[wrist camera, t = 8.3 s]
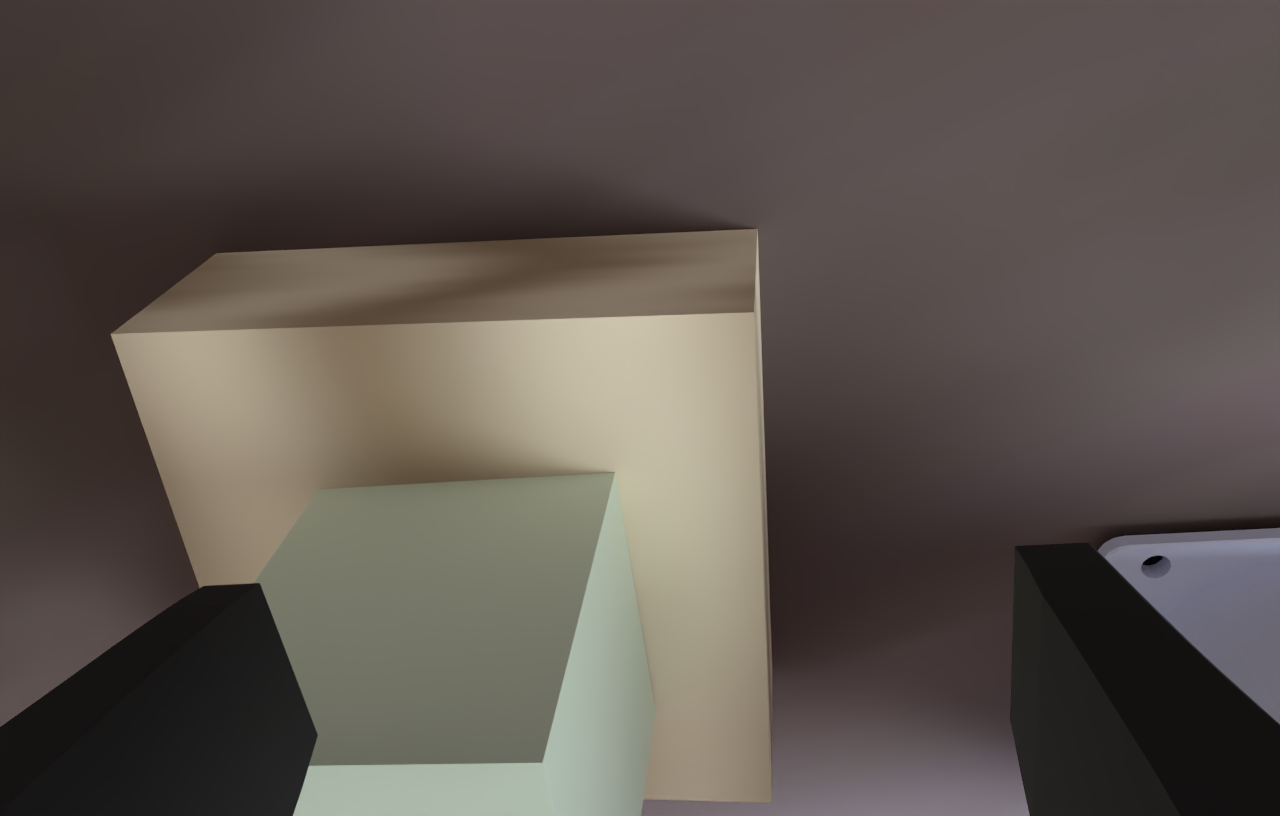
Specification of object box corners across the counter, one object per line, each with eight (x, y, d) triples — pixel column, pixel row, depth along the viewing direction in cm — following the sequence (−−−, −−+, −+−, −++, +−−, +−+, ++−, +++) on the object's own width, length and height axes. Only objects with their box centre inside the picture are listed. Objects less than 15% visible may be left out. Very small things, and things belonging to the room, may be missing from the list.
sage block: (615, 471, 17) (542, 763, 11) (655, 709, 19) (610, 1041, 14) (318, 488, 18) (124, 768, 12) (392, 714, 20) (254, 1030, 15)
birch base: (757, 221, 19) (753, 311, 15) (772, 657, 23) (772, 802, 20) (226, 245, 20) (111, 334, 17) (341, 652, 25) (269, 788, 21)
